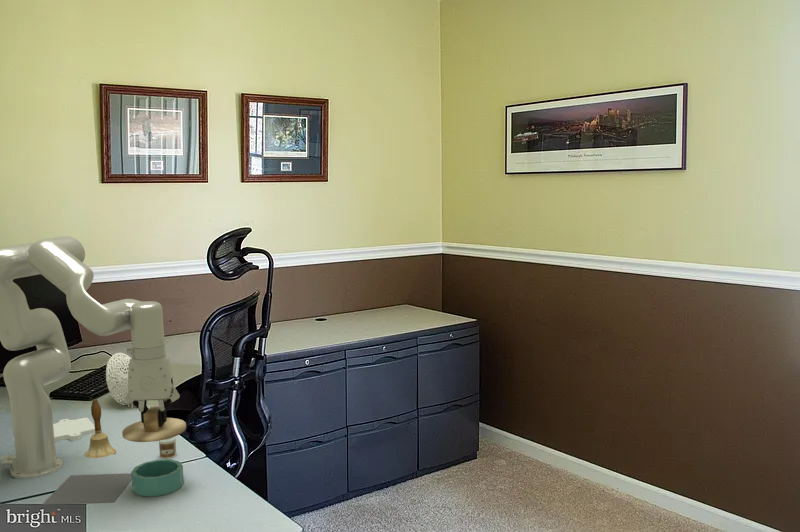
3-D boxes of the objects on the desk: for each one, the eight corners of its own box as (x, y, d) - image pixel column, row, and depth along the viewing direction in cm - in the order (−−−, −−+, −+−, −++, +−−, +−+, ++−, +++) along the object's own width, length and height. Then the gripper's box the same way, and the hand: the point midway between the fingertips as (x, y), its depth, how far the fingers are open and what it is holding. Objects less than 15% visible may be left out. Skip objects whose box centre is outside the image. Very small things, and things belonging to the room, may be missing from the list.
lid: (113, 443, 178) (111, 421, 177) (133, 421, 193) (132, 401, 192) (177, 440, 178) (175, 419, 178) (192, 419, 193) (191, 399, 192)
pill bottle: (159, 461, 205) (157, 433, 204) (160, 455, 209) (158, 428, 208) (176, 459, 206) (174, 432, 205) (176, 453, 210) (175, 426, 209)
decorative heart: (149, 408, 250) (146, 358, 248) (116, 414, 244) (112, 363, 242) (134, 395, 265) (131, 347, 262) (103, 401, 259) (99, 352, 256)
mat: (42, 506, 178) (41, 504, 178) (70, 477, 195) (70, 475, 195) (114, 504, 179) (114, 502, 179) (136, 474, 196) (136, 473, 196)
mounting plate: (99, 437, 225) (98, 430, 225) (52, 446, 218) (52, 440, 218) (85, 420, 240) (85, 415, 240) (41, 429, 233) (41, 423, 233)
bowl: (126, 499, 182) (125, 479, 181) (141, 478, 193) (140, 460, 193) (176, 497, 182) (174, 477, 181) (188, 477, 194) (187, 458, 193)
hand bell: (105, 460, 206) (100, 404, 204) (78, 459, 208) (73, 403, 205) (121, 449, 214) (117, 395, 212) (95, 447, 216) (91, 394, 213)
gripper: (109, 357, 179) (115, 431, 181) (178, 355, 179) (183, 429, 182) (120, 349, 186) (126, 421, 189) (186, 347, 187) (191, 419, 189)
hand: (154, 424), depth 185 cm, fingers closed on lid, 3 cm apart
